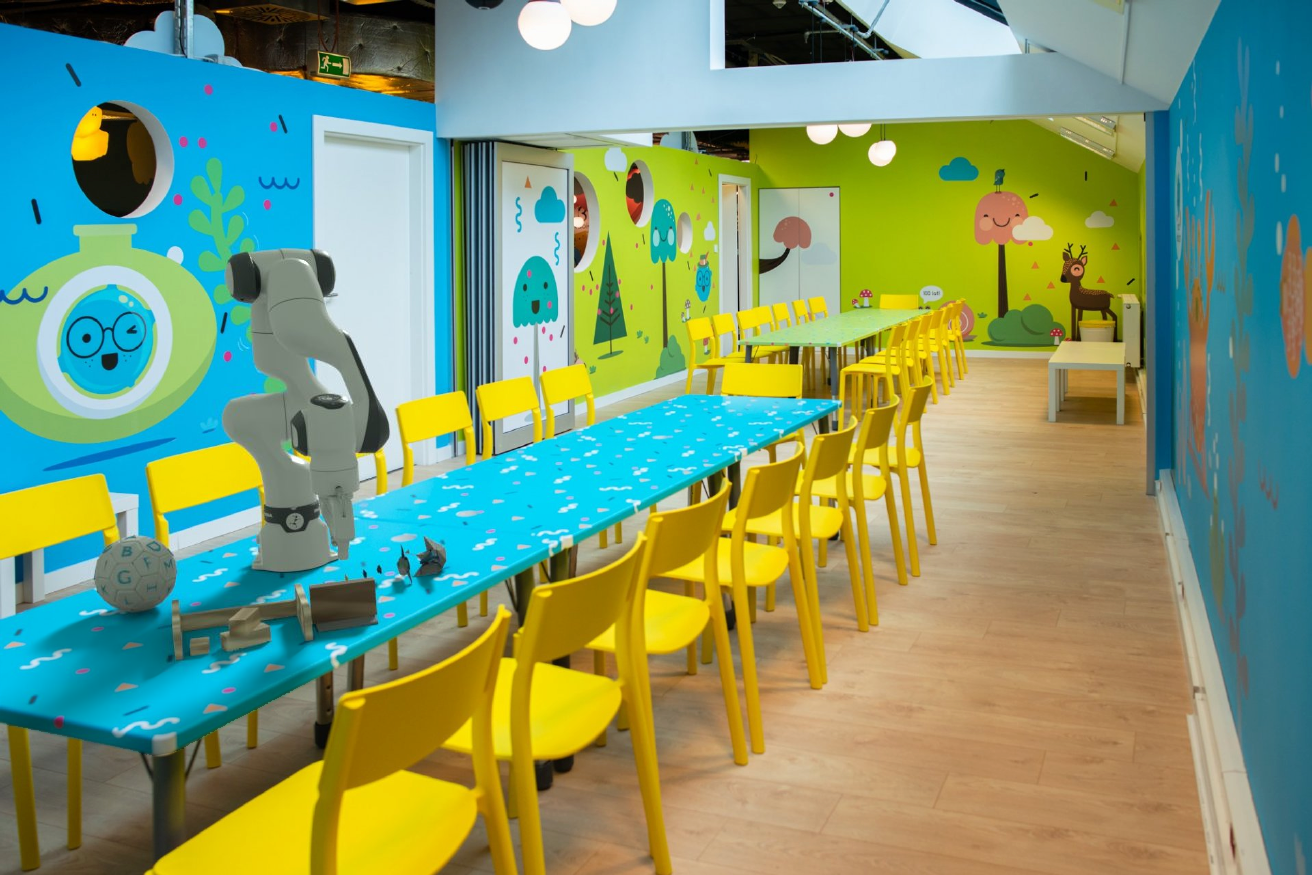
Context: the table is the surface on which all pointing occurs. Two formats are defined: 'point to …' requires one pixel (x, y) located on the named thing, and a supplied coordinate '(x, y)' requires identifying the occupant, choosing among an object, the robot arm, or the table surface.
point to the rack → (222, 616)
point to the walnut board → (342, 600)
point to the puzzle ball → (135, 573)
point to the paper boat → (433, 567)
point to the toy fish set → (407, 564)
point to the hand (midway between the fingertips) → (339, 552)
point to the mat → (346, 623)
